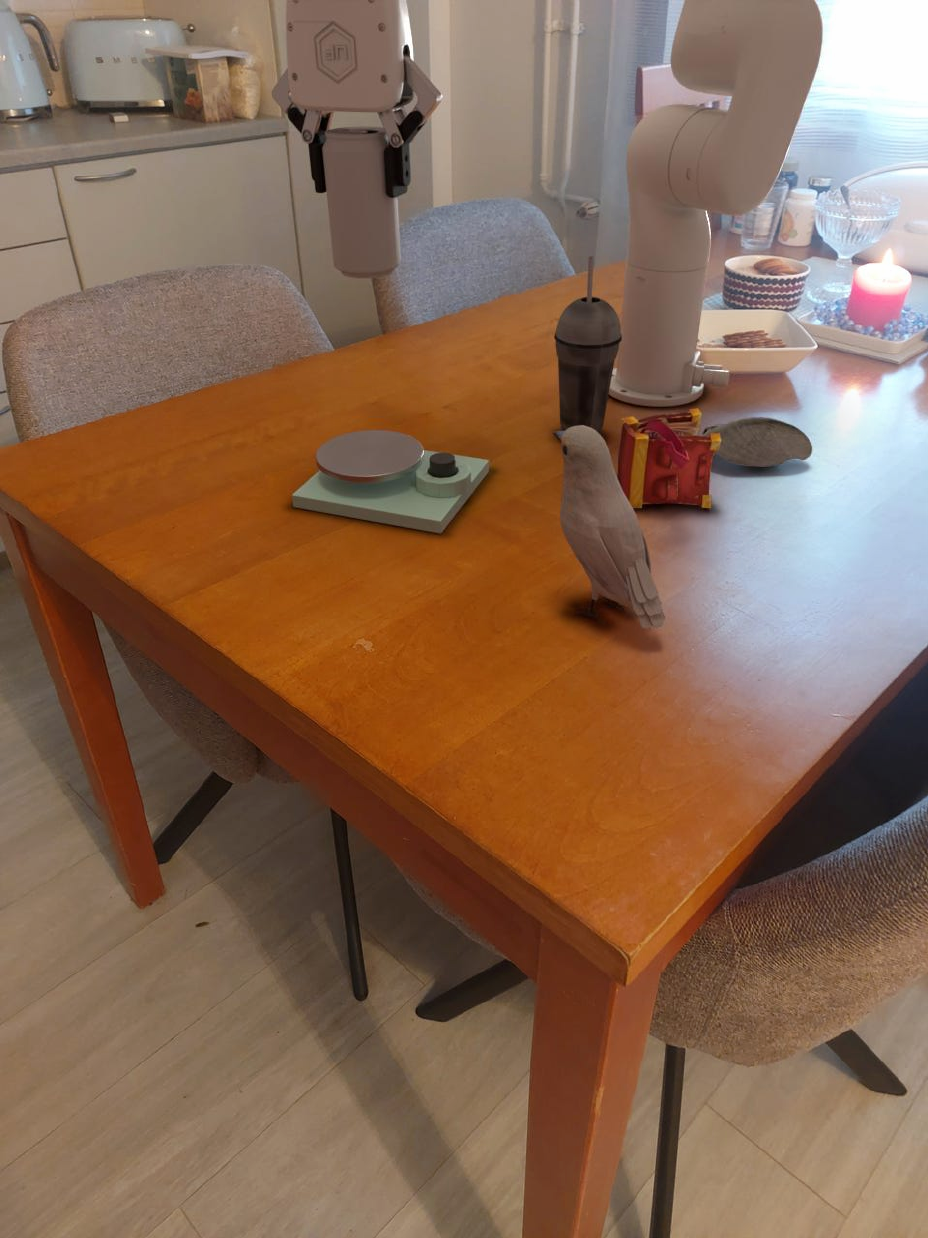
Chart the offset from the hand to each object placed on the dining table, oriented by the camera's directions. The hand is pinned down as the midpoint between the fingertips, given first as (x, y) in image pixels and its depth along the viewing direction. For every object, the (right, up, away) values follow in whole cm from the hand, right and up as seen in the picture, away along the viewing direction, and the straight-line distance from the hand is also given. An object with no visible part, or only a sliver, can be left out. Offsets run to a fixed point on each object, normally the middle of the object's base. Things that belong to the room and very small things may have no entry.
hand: (361, 190), depth 81 cm
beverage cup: (+23, -18, +22) cm, 36 cm away
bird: (+21, -38, -6) cm, 44 cm away
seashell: (+41, -22, +16) cm, 49 cm away
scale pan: (0, -22, +11) cm, 25 cm away
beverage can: (0, -6, +4) cm, 7 cm away
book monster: (+29, -28, +8) cm, 41 cm away
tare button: (+7, -24, +8) cm, 27 cm away
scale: (+2, -25, +12) cm, 28 cm away
